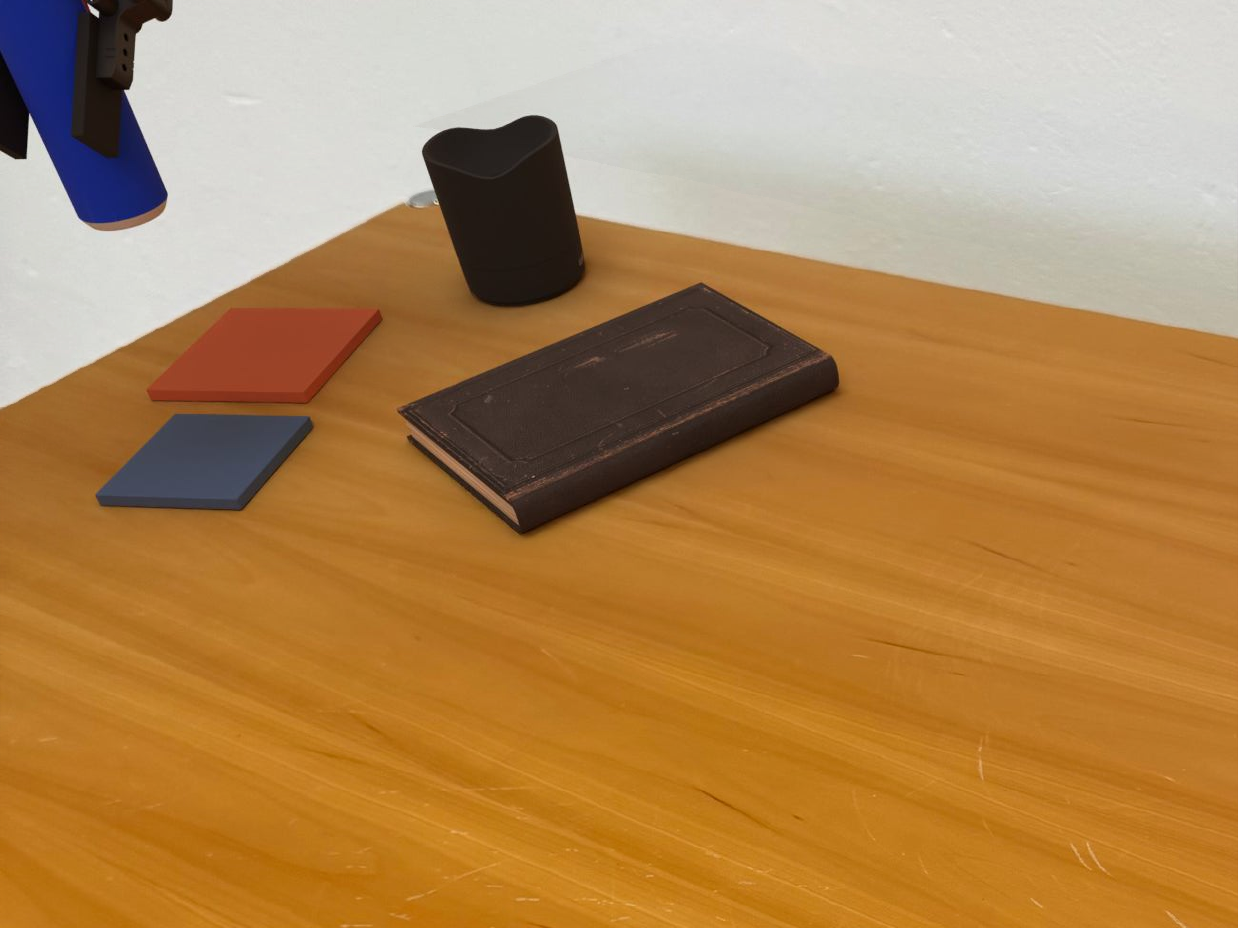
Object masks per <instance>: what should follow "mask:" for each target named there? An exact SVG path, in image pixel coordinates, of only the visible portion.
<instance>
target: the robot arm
mask: <svg viewBox="0 0 1238 928" xmlns="http://www.w3.org/2000/svg"><path fill="white" fill-rule="evenodd" d="M84 1H85V2H86V3H87V4H88V6H89V7H91V8H93V9H94V10H95V11H97V12H98V16H97V15H96V14H94V13H92V11H91V12H78V23H77V40H76V57H75V74H74V91H73V108H72V126H71V136H72V137H73V138H75V139H76V140H78V141H80V142H81V143H83V144H84V145H86V146H88V147H89V148H91V149H92V150H94V151H96V152H97V153H99V154H100V155H102V156H104V157H105V158H118V155H119V138H120V122H121V105H122V90H124V91H130V90H131V87H132V84H133V82H134V69H135V57H136V56H135V55H136V54H135V53H136V40H137V39H136V38H137V34H138V33H140V31H141V30H142V28H143V25H144V24H145V23H147V22H150V21H152V20H154V19H155V20H156V21H158V22H160V23H163V22H167V21H168V20H169V19H170V18H171V16H172V14H173V8H174V7H173V5H174V0H84ZM29 127H30V113H29V111H28V109H27V107H26V105H25V103H24V101H23V98H22V96H21V94H20V92H19V90H18V88H17V86H16V83H15V81H14V79H13V77H12V75H11V73H10V71H9V68H8V66H7V64H6V62H5V60H4V58H3V56H2V54H1V51H0V152H1V153H2V154H5V155H7V156H8V157H10V158H12V159H14V160H27V159H28V146H29V145H28V143H29Z"/></svg>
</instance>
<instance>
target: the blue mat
mask: <svg viewBox="0 0 1238 928" xmlns="http://www.w3.org/2000/svg"><path fill="white" fill-rule="evenodd" d="M313 428H314V424H313V421H312V418H311V416H309V415H276V414H275V415H274V414H273V415H271V414H270V415H269V414H267V415H266V414H223V413H222V414H221V413H219V414H218V413H217V414H215V413H214V414H213V413H174V414H173V415H172V416H171V417H170V418H169V419H168V420H167V421H166V422H165V423H164V424H163V425H162V426H161V427H160V428H159V429H158V430H157V431H156V432H155V433H154V435H152V436H151V437H150V438H149V439H148V441H146V442H145V444H144V445H143V446H141V447H140V448H139V450H138V451H136V453H135V454H134V455H133V456H132V457H130V459H129V460H127V461H126V463H124V464H123V466H122V467H121V468H120V469H119V470H118V471H117V472H115V474H114V475H113V476H112V477H110V479H109V480H108V481H107V482H106V483H105V484H104V485H102V487H101V488H100V489H99V490H98V491H97V492H96V493H95V494H94V496H95V498H96V500H97V502H98V504H99V506H111V507H112V506H113V507H137V508H138V507H141V508H144V507H145V508H172V509H200V510H201V509H202V510H203V509H204V510H231V511H233V510H235V511H236V510H237V511H241V510H243V508H244V507H245V506H246V505H247V504H248V503H249V501H250V500H252V498H253V497H254V496H255V495H256V494H257V493H258V492H259V490H260V489H261V488H262V487H263V486H264V484H265V483H266V482H267V480H269V479H270V477H271V476H272V475H273V474H274V473H275V472H276V471H277V469H279V467H280V466H281V465H282V464H283V462H284V461H285V460H286V459H287V458H288V457H289V456H290V455H291V453H292V452H293V451H294V450H295V449H296V448H297V446H298V445H299V444H300V443H301V442H302V441H303V439H305V437H306V436H307V435H308V434H309V433H310V432H311V430H312V429H313Z"/></svg>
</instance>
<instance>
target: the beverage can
mask: <svg viewBox="0 0 1238 928" xmlns="http://www.w3.org/2000/svg"><path fill="white" fill-rule="evenodd" d="M78 12H91V13H92V11H91V9H90V5H89V4H88V3H86V2H85V1H84V0H0V51H1V54H2V56H3V58H4V60H5V62H6V64H7V66H8V68H9V71H10V73H11V75H12V77H13V79H14V81H15V83H16V86H17V88H18V90H19V92H20V94H21V96H22V98H23V101H24V103H25V105H26V107H27V109H28V111H29V117H31V119H32V122H33V124H34V126H35V128H36V130H37V132H38V135H39V137H40V139H41V141H42V144H43V145H44V147H45V149H46V152H47V154H48V156H49V159H50V160H51V162H52V165H53V167H54V169H55V171H56V173H57V175H58V177H59V180H60V182H61V184H62V186H63V188H64V190H65V192H66V195H67V197H68V199H69V201H70V203H71V206H72V207H73V210H74V212H75V214H76V216H77V218H78V219H79V220H80V221H81V222H82V223H84V224H85V225H86V226H88V227H89V228H92V230H96V231H100V232H116V231H117V232H118V231H123V230H128V229H131V228H136V227H138V226H139V227H140V226H142V225H144V224H147V223H150V222H151V221H153V220H155V219H156V218H158V217H160V216H161V215H162V214H163V213H164V212H165V209H166V207H167V203H168V198H169V197H168V194H169V193H168V190H167V187H166V186H165V183H164V181H163V179H162V176H161V174H160V171H159V168H158V167H157V164H156V163H155V160H154V157H153V155H152V152H151V150H150V148H149V146H148V143H147V141H146V139H145V135H144V133H143V131H142V129H141V127H140V125H139V121H138V120H137V117H136V115H135V113H134V110H133V108H132V105H131V103H130V101H129V99H128V98H129V97H128V95H127V94H126V90H122V105H121V122H120V138H119V155H118V158H105V157H104V156H102V155H100V154H99V153H97V152H96V151H94V150H92V149H91V148H89V147H88V146H86V145H84V144H83V143H81V142H80V141H78V140H76V139H75V138H73V137H72V136H71V126H72V108H73V91H74V74H75V57H76V40H77V23H78Z"/></svg>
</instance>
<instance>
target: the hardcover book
mask: <svg viewBox="0 0 1238 928" xmlns="http://www.w3.org/2000/svg"><path fill="white" fill-rule="evenodd" d="M838 369H839V368H838V365H837V362H836V360H835V358H834V357H833V356H832V355H831V354H830V353H828V352H826V351H824V350H823V349H821V348H819V347H817V346H815V345H814V344H812V343H810V342H808V341H806V340H805V339H803V338H802V337H799V336H798V335H796V334H794V333H793V332H790V331H789V330H787V329H785V328H783V327H782V326H780V325H778V324H776V323H775V322H773V321H771V320H769V319H767V318H766V317H764V316H762V315H761V314H759V313H757V312H755V311H753V310H751V309H749V308H748V307H746V306H745V305H743V304H741V303H739V302H737V301H735V300H734V299H733V298H730V297H729V296H727V295H725V294H724V293H721V292H720V291H718V290H716V289H714V288H712V287H711V286H709V285H707V284H705V283H704V282H702V281H701V282H697V283H695V284H693V285H691V286H689V287H686V288H684V289H681V290H678V291H677V292H674V293H672V294H669V295H667V296H665V297H661V298H660V299H657V300H654V301H652V302H650V303H647V304H645V305H643V306H641V307H638V308H636V309H633V310H630V311H628V312H626V313H623V314H621V315H618V316H616V317H614V318H611V319H609V320H607V321H604V322H602V323H599V324H597V325H594V326H592V327H590V328H587V329H585V330H582V331H579V332H578V333H575V334H573V335H570V336H568V337H566V338H563V339H561V340H558V341H556V342H553V343H551V344H548V345H546V346H544V347H542V348H538V349H536V350H534V351H531V352H529V353H527V354H524V355H522V356H519V357H517V358H514V359H513V360H510V361H508V362H505V363H502V364H500V365H498V366H495V367H493V368H491V369H489V370H486V371H483V372H481V373H478V374H476V375H474V376H471V377H469V378H467V379H464V380H461V381H459V382H457V383H455V384H452V385H449V386H447V387H445V388H443V389H440V390H437V391H435V392H433V393H431V394H428V395H425V396H423V397H420V398H418V399H415V400H413V401H410V402H409V403H406V404H403V405H401V406H399V407H397V408H396V411H397V414H399V415H400V416H401V417H402V418H404V419H405V420H406V425H405V426H406V427H407V428H408V429H409V431H410V434H409V435H406V440H407V441H409V442H410V443H411V444H412V445H413V446H414V447H415V448H417V449H418V450H419V451H420V452H421V453H423V454H424V455H425V456H426V457H428V458H429V460H431V461H432V462H433V463H434V464H436V465H437V466H438V467H439V468H441V469H442V470H443V471H444V472H445V473H446V474H448V475H449V476H450V477H451V478H452V479H454V480H455V481H456V482H457V483H459V484H460V485H461V486H462V487H463V488H464V489H465V490H467V491H468V492H469V493H470V494H471V495H473V496H474V497H475V498H476V499H477V500H479V501H480V502H481V503H482V504H483V505H485V506H486V507H487V508H488V509H489V510H490V511H491V512H493V513H494V514H495V515H497V516H498V517H499V518H500V519H501V520H502V521H504V522H505V523H506V524H507V525H508V526H510V527H511V528H512V529H513V530H514V531H515V532H517V533H518V534H523V533H525V532H528V531H530V530H532V529H533V528H537V527H538V526H540V525H542V524H545V523H547V522H549V521H551V520H553V519H556V518H558V517H560V516H562V515H565V514H567V513H568V512H569V513H570V512H571V511H573V510H575V509H577V508H580V507H582V506H584V505H586V504H589V503H591V502H593V501H595V500H597V499H599V498H601V497H604V496H606V495H608V494H610V493H612V492H614V491H616V490H619V489H621V488H623V487H625V486H628V485H630V484H632V483H635V482H636V481H638V480H641V479H643V478H645V477H647V476H649V475H652V474H653V473H656V472H658V471H660V470H662V469H664V468H667V467H669V466H671V465H673V464H675V463H678V462H679V461H682V460H684V459H686V458H688V457H690V456H692V455H695V454H697V453H699V452H702V451H703V450H706V449H708V448H709V447H712V446H714V445H716V444H719V443H721V442H723V441H726V440H728V439H730V438H732V437H734V436H736V435H739V434H740V433H742V432H745V431H747V430H749V429H752V428H754V427H755V426H757V425H760V424H762V423H765V422H766V421H769V420H771V419H773V418H775V417H778V416H780V415H782V414H784V413H786V412H788V411H790V410H793V409H795V408H797V407H798V406H802V405H803V404H805V403H808V402H810V401H812V400H814V399H817V398H819V397H820V396H824V395H826V394H828V393H830V392H831V391H834V390H836V389H838V388H839V385H840V375H839V370H838Z"/></svg>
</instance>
